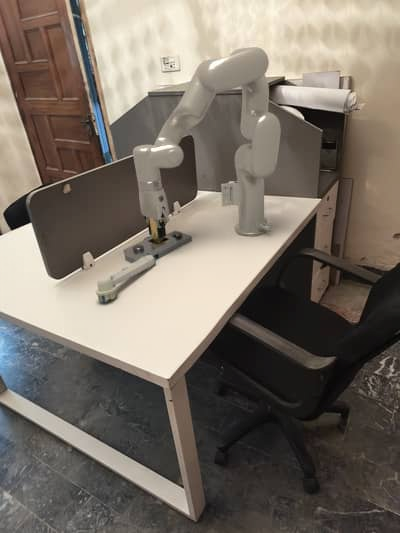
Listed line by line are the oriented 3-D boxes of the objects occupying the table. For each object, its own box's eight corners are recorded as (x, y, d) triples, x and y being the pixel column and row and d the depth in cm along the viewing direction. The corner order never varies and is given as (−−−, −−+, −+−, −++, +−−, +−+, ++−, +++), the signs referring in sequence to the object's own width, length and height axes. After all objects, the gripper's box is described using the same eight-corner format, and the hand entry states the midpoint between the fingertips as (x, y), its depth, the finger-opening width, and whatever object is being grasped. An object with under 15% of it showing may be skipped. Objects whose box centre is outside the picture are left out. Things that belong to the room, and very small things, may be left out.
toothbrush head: (156, 254, 120) (102, 280, 100) (159, 273, 122) (106, 303, 102) (144, 253, 123) (88, 278, 103) (146, 271, 125) (93, 300, 105)
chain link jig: (175, 235, 142) (173, 223, 139) (192, 240, 136) (190, 228, 134) (125, 260, 127) (122, 247, 125) (141, 267, 121) (139, 254, 119)
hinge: (221, 206, 165) (220, 184, 160) (224, 202, 169) (222, 180, 164) (252, 206, 161) (252, 184, 156) (254, 202, 166) (253, 180, 161)
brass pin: (167, 245, 131) (162, 214, 125) (159, 250, 128) (154, 218, 122) (160, 243, 133) (155, 212, 127) (151, 247, 131) (146, 215, 125)
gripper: (175, 185, 117) (182, 237, 126) (142, 178, 127) (150, 226, 136) (158, 192, 112) (166, 245, 121) (125, 184, 123) (134, 233, 132)
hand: (157, 235), depth 129 cm, fingers closed on brass pin, 4 cm apart
